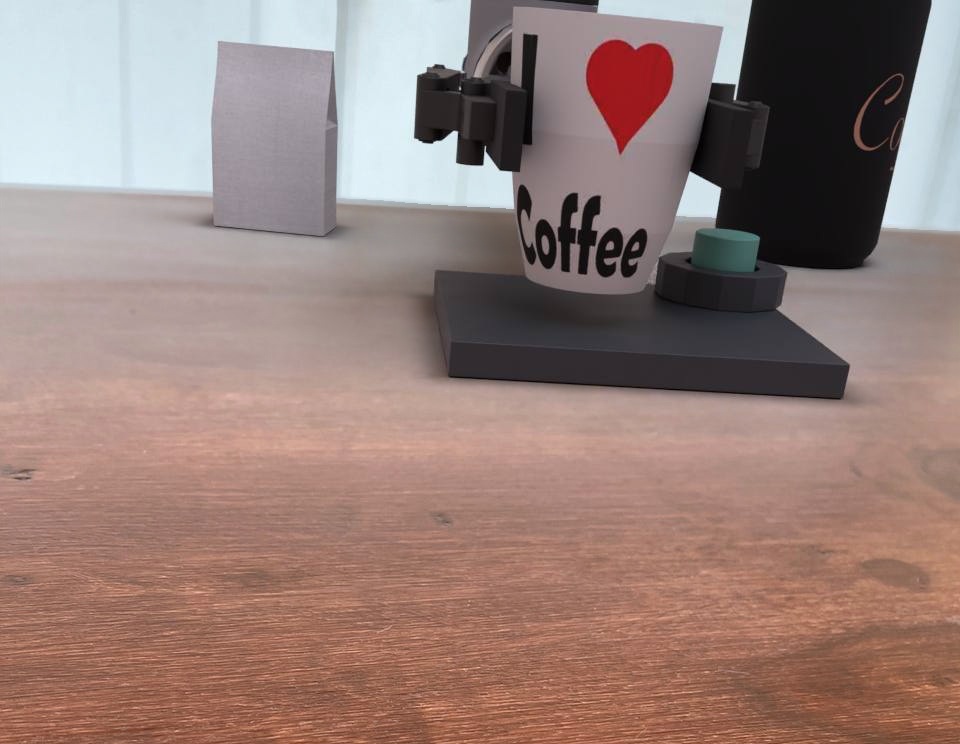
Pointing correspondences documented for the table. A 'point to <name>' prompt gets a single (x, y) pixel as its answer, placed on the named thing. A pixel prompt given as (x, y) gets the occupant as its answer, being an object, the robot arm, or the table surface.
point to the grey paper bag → (274, 139)
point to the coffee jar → (824, 125)
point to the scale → (637, 332)
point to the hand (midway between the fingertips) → (626, 141)
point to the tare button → (725, 250)
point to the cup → (605, 141)
